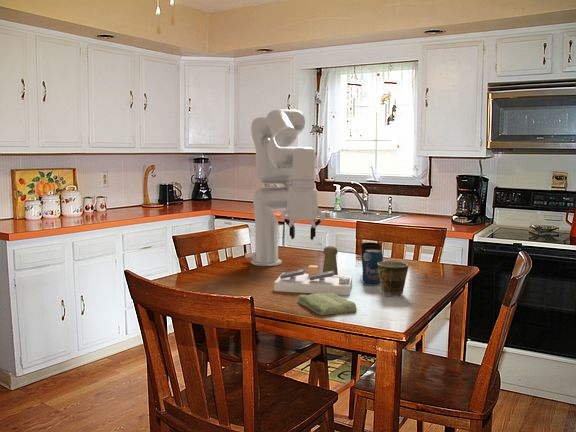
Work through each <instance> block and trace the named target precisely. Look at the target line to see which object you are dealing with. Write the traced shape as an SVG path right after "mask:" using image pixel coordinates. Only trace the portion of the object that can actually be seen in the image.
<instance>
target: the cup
mask: <svg viewBox="0 0 576 432" xmlns="http://www.w3.org/2000/svg"><path fill="white" fill-rule="evenodd" d="M360 249H361V253H360V254H361V265H362V266H361V267H362V269H363V254H364V252H365V250H366V249H378V250H381V251H382V244H381V243H379V242H361V244H360Z"/></svg>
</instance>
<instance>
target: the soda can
mask: <svg viewBox="0 0 576 432" xmlns="http://www.w3.org/2000/svg"><path fill="white" fill-rule="evenodd" d="M383 261H384V255H383V253H382V249H381V250H378V249H366V250H365V252H364V254H363V268H362V281H363V283H364V285H366V286H371V287H372V286H373V287H374V286H381V285H380V277H379V273H378V263H379V262H383Z"/></svg>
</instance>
